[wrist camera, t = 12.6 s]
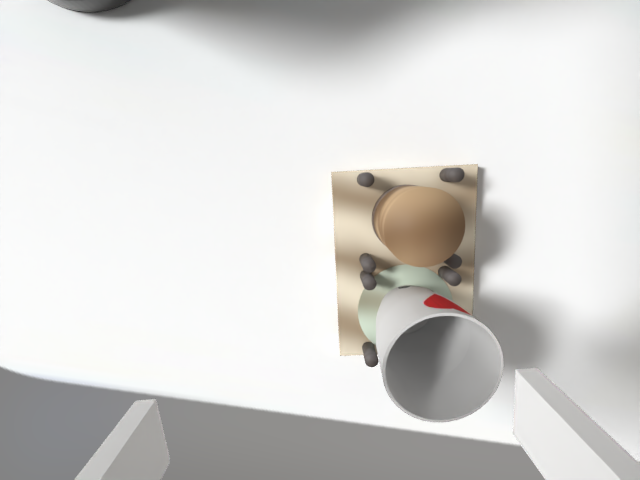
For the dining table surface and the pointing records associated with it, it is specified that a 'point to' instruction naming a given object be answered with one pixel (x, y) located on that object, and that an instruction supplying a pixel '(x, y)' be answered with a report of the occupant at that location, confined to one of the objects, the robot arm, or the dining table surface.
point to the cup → (435, 355)
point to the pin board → (379, 262)
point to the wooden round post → (419, 224)
